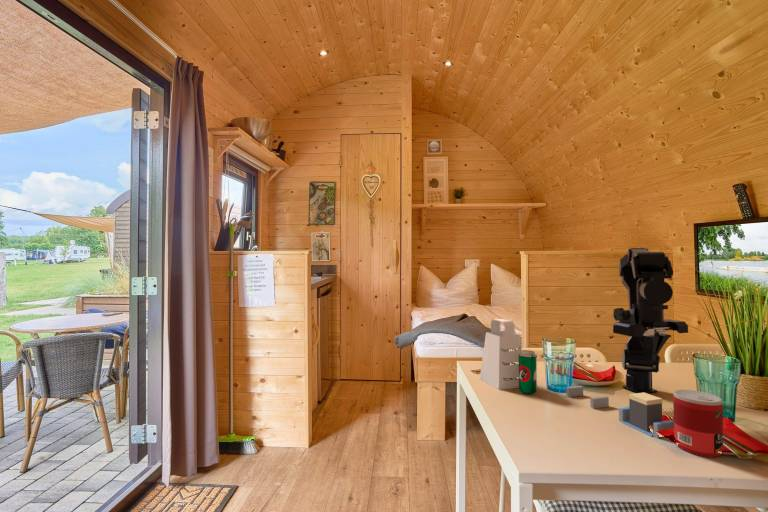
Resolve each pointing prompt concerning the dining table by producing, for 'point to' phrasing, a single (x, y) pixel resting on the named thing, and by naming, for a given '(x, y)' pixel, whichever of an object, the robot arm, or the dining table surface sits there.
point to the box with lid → (644, 410)
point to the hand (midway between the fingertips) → (650, 361)
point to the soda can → (527, 372)
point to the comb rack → (623, 412)
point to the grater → (501, 356)
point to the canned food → (698, 422)
